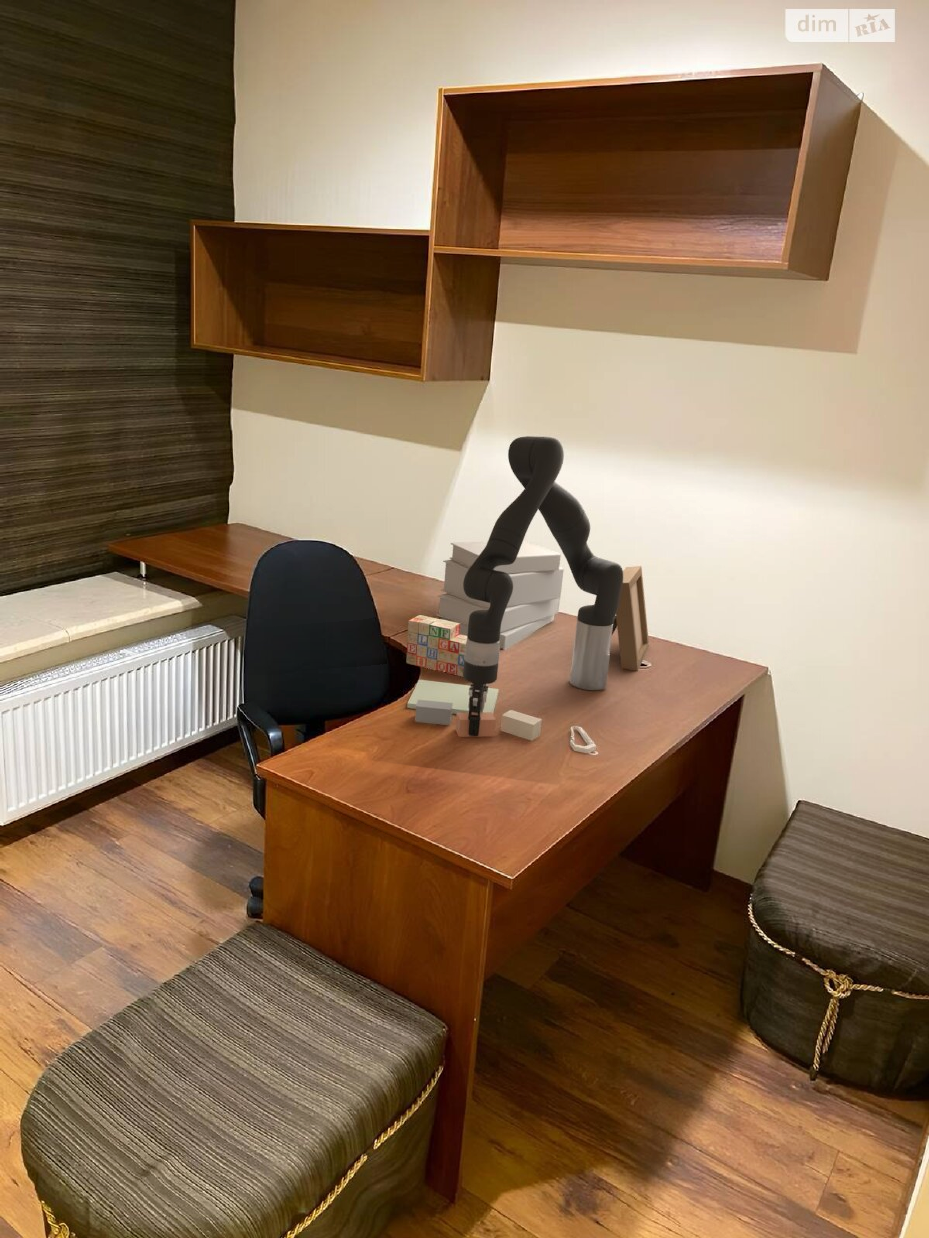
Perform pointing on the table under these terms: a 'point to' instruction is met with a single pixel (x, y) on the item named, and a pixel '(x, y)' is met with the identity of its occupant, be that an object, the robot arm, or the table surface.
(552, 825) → the table surface
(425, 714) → the slate brick
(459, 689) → the sage baseplate
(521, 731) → the cream brick
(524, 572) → the book stack
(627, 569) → the photo frame
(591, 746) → the white triangle frame
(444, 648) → the stack of blocks
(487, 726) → the terracotta brick
